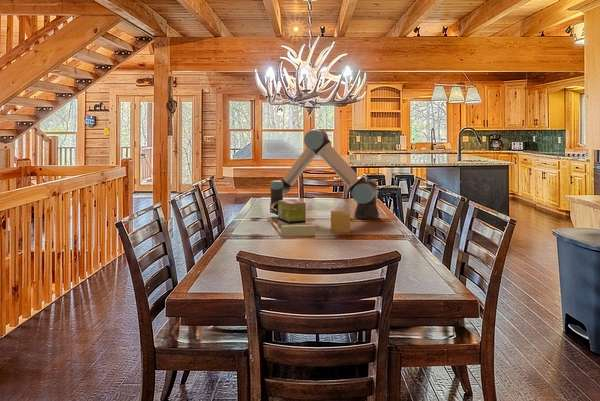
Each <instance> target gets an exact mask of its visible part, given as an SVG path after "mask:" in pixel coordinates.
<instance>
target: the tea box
mask: <svg viewBox="0 0 600 401" xmlns="http://www.w3.org/2000/svg"><path fill="white" fill-rule="evenodd" d="M306 207H307V206H306V202H304V201H302V200H301V201H300V200H297V199H283V200H278V215H277V217H278V218H277V220H278V224H277V225H278V226H279V228H281V226H295V225H307V223H306V221H307V220H306V215H307V214H306V210H307V208H306Z"/></svg>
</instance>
